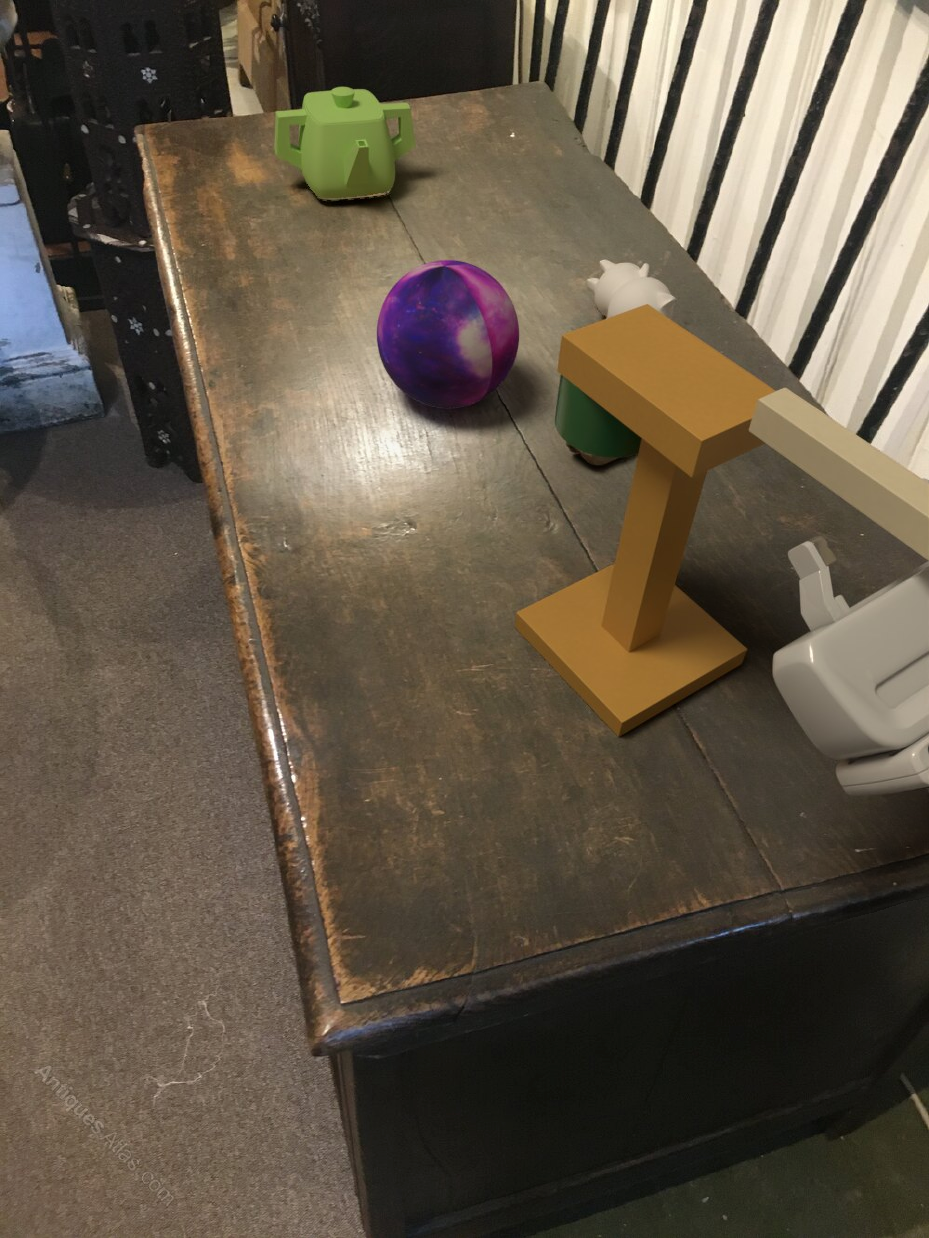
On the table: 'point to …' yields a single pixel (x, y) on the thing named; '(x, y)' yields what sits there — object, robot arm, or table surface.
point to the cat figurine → (629, 290)
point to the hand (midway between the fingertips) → (857, 513)
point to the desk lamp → (644, 512)
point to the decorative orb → (448, 334)
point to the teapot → (345, 142)
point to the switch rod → (846, 466)
